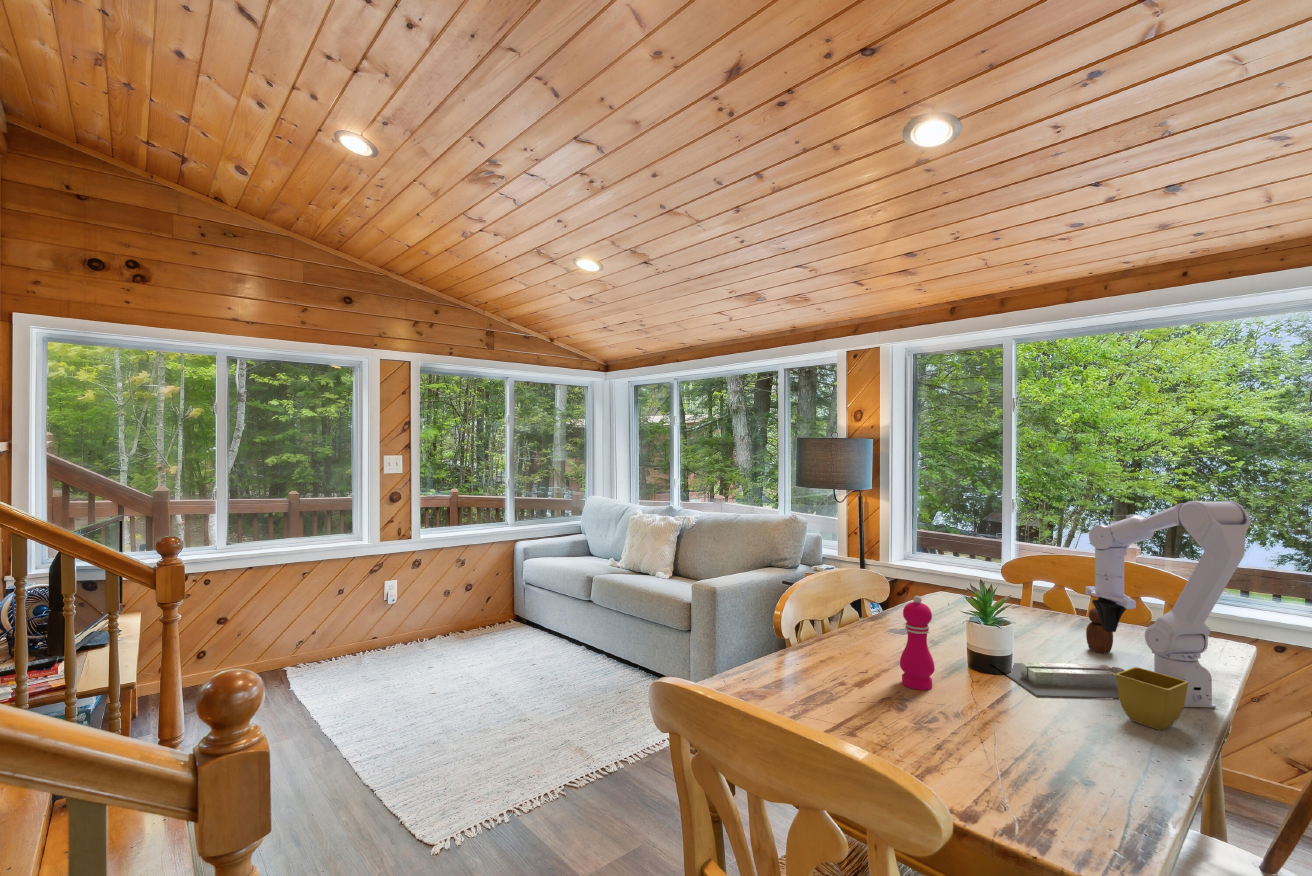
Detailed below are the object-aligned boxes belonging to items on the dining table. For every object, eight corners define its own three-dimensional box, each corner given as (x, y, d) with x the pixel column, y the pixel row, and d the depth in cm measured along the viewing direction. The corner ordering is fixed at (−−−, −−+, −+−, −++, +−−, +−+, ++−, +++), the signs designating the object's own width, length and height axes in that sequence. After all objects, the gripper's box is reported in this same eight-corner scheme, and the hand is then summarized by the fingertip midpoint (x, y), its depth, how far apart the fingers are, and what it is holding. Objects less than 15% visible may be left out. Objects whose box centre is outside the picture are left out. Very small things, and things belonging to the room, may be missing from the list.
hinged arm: (1114, 678, 141) (1114, 664, 141) (1127, 684, 137) (1127, 670, 137) (1021, 675, 141) (1021, 662, 142) (1030, 682, 138) (1030, 668, 138)
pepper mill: (938, 692, 133) (938, 600, 133) (903, 689, 134) (903, 598, 134) (930, 680, 140) (930, 592, 140) (896, 677, 141) (897, 591, 141)
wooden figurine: (1113, 657, 157) (1113, 598, 157) (1085, 652, 160) (1085, 595, 161) (1113, 650, 162) (1113, 594, 163) (1086, 646, 166) (1086, 590, 166)
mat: (1166, 700, 130) (1166, 698, 130) (1036, 696, 131) (1036, 695, 131) (1101, 666, 150) (1101, 665, 150) (989, 663, 151) (989, 662, 151)
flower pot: (1189, 727, 117) (1189, 680, 117) (1169, 738, 113) (1169, 689, 113) (1135, 710, 125) (1135, 666, 125) (1114, 719, 120) (1114, 673, 121)
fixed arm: (1109, 683, 138) (1109, 670, 138) (1117, 688, 135) (1117, 674, 135) (1028, 681, 139) (1028, 668, 139) (1034, 686, 136) (1034, 672, 136)
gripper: (1073, 568, 156) (1073, 622, 155) (1113, 581, 141) (1113, 639, 141) (1101, 569, 155) (1101, 622, 155) (1145, 581, 141) (1145, 640, 141)
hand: (1109, 631), depth 148 cm, fingers closed
